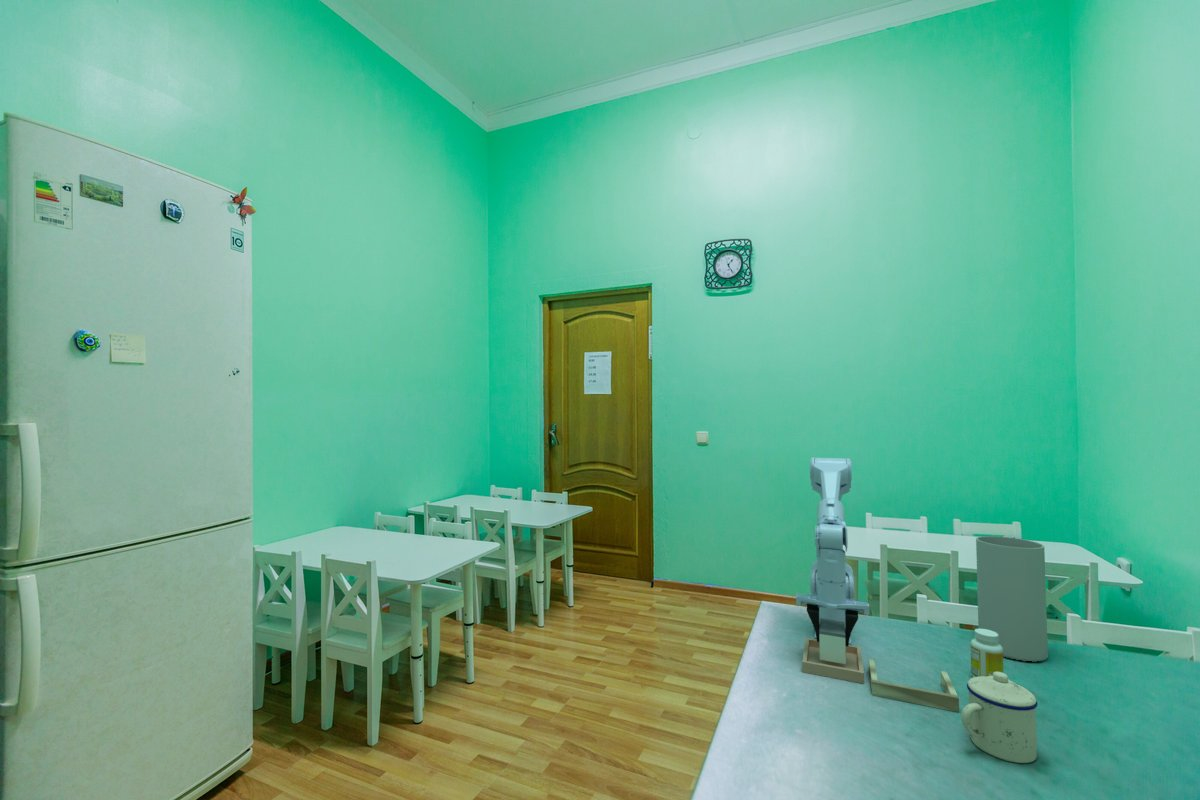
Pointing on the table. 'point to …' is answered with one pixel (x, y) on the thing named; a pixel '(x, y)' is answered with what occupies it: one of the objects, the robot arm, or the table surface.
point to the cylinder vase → (1013, 595)
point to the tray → (833, 663)
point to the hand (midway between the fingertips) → (832, 642)
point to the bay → (916, 692)
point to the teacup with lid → (1001, 718)
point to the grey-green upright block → (832, 641)
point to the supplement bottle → (986, 653)
